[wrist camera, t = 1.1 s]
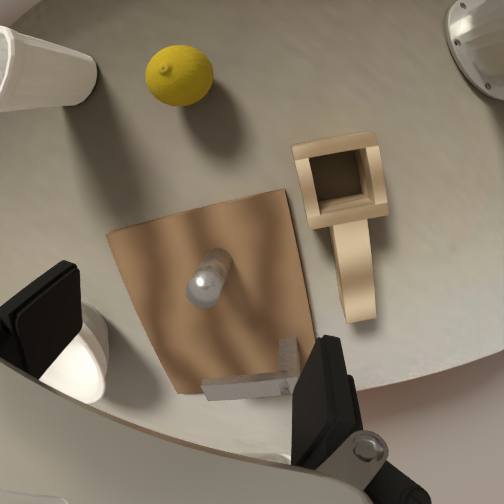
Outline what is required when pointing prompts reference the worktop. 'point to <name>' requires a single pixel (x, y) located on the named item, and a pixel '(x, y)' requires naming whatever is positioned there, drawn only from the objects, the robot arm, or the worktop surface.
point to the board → (233, 292)
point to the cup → (41, 73)
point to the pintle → (209, 278)
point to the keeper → (259, 378)
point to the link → (347, 217)
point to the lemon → (179, 75)
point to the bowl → (83, 360)
